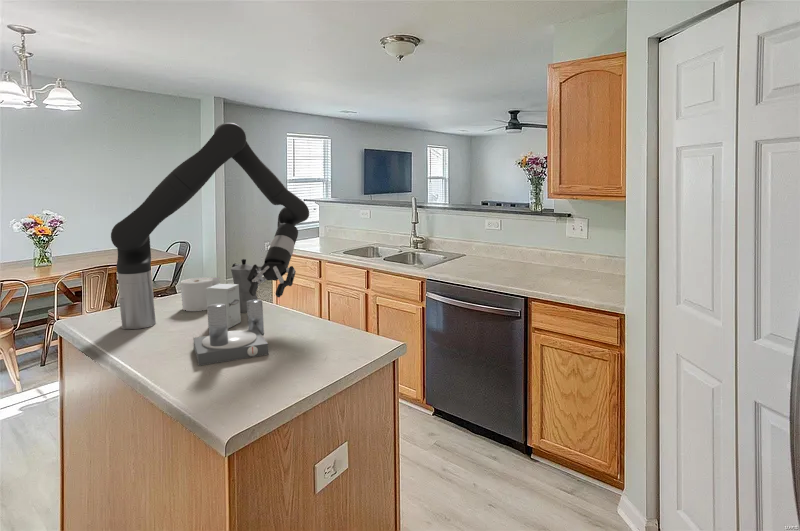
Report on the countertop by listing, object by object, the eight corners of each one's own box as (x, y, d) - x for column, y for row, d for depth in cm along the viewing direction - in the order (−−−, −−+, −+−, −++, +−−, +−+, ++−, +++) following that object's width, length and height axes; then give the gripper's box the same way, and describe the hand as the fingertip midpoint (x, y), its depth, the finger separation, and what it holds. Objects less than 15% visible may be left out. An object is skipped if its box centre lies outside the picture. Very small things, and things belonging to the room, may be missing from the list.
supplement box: (229, 329, 150) (226, 288, 148) (207, 327, 152) (204, 287, 149) (241, 322, 157) (239, 283, 155) (220, 321, 159) (218, 282, 157)
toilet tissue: (175, 310, 172) (173, 282, 170) (198, 302, 183) (196, 276, 181) (201, 312, 169) (199, 284, 167) (223, 304, 180) (221, 277, 178)
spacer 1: (211, 347, 123) (208, 308, 121) (209, 342, 127) (206, 304, 125) (229, 344, 125) (226, 306, 123) (227, 339, 129) (224, 302, 127)
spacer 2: (250, 337, 142) (248, 303, 141) (247, 333, 146) (245, 300, 144) (265, 335, 144) (263, 302, 143) (262, 331, 148) (260, 298, 146)
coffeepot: (268, 310, 171) (265, 259, 168) (242, 315, 165) (239, 263, 162) (247, 302, 182) (244, 254, 179) (222, 307, 176) (219, 257, 172)
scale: (198, 366, 120) (197, 352, 120) (194, 348, 133) (193, 335, 132) (268, 354, 128) (268, 341, 127) (257, 339, 141) (257, 327, 140)
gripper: (255, 245, 157) (238, 287, 148) (296, 246, 154) (281, 289, 145) (264, 258, 163) (248, 300, 154) (304, 260, 160) (290, 303, 151)
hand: (264, 295), depth 149 cm, fingers open, 8 cm apart
